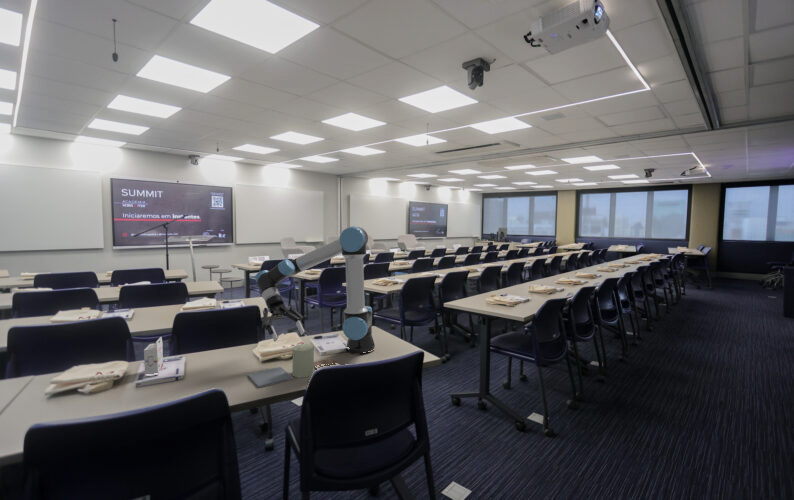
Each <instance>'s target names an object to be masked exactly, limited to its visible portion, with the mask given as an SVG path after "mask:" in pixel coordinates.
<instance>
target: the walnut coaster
mask: <svg viewBox="0 0 794 500" xmlns="http://www.w3.org/2000/svg"><path fill="white" fill-rule="evenodd" d="M337 362H338V361H336V360H334V359H333V358H331V357H329V358H326V359H322V360H321V359H320V360H316V361H314V367H315V366H316V367H317V365H319V366H320V367H323V366H321V364H325V365H324V366H330V365H336V364H335V363H337ZM332 363H333V364H332ZM326 364H327V365H326ZM328 364H329V365H328ZM320 367H318V368H320ZM316 370H317V368H316Z"/></svg>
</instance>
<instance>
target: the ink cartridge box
mask: <svg viewBox="0 0 794 500" xmlns="http://www.w3.org/2000/svg"><path fill="white" fill-rule="evenodd" d="M163 347H164V346H163V338H162V336H160V337H159V338H158V339H157V340H156V341H155V343H149V344H148V345H147V346H146V347H145V348H144V349H143V356H144V357H143V361H144V363H143V364H144V375H145V374H154V373H159V371H160V370H161V369H162V367H163V368H164V354H163V353H164V352H163V351H164V350H163ZM162 370H163V369H162ZM162 370H161V371H162ZM159 374H160V373H159Z"/></svg>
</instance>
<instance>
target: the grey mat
mask: <svg viewBox="0 0 794 500" xmlns="http://www.w3.org/2000/svg"><path fill="white" fill-rule="evenodd" d="M247 376H248V378H249V379H250V380H251V382H253V383H254V385H255V386H256V387H257V388H259V389H261V388H263V387H266V386H267V387H268V386H272V385H275V384H278V383H282V382H286V381H290V380H293V379H294V378H293V377H294V376H293V375H292V374H290V373H289V372H287V371H286V370H285V369H284V368H283V367H281V366H278V367H277V366H276V367H272V368H268V369H265V370H260V371H256V372H252V373H248V374H247Z"/></svg>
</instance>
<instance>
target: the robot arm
mask: <svg viewBox="0 0 794 500" xmlns="http://www.w3.org/2000/svg"><path fill="white" fill-rule="evenodd" d="M368 240H369V234H368V233H367V231H366V230H365V229H364V228H363V227H359V226H348V227H345V229H343V230H342V232H340V235H339V238H337V239H336V240H333V241H331V242H329V243H326V244H324V245H323V246H320V247H318V248H316V249H314V250H311V251H310V252H307V253H305V254H303V255H300V256H298V257H296V258H294V259H292V260H289V259H287V258H286V259H283V260H282V261H280V262H279V263H278V264H276V265H275V266H274V267H273V268H271V269H270V270H266V269H265V270H261V271H259V272H257V273H256V275H255V277H254V278H255V282H256V285H257V286H258V289H259V291H260V293H261V296H262V298H263V300H264V302H265V305H266V307H264V309H263V310H262V315H263V316H262V325H261V328H262V329H263V330H264V329H265V330H266V331H267V332H268V334H269V335H271V337H272V339H273V342H277V340H278V339H279V337H278V334H277V331H276V329H275V327H274V326H273V325H272V324H273V321H274V319H275V317H280V316H281V317H282V316H284V317H287V318H289V319H291V320H292V321H294V322H295V326H296V327H297V329H298V332H299V333H300V336H303V335H304V334H305V329H304V324H303V322H302V321H303V319H304V315H302V314H301V313H300V312H299V311H297V310H296V308H295V307H293V306H292V304H291V303H288V304H287V305H285V303H284V299H283V297H282V295H281V293H280V291H279V289H278V288H277V285H278V284H279V283H281V282H282V281H284V280H285V279H287V278H289V277H292V276H295V275H298V274H300V273H301V272H303V271H306V270H307V269H310V268H312V267H314V266H317V265H319V264H322V263H323V262H326V261H328V260H331V259H333V258H335V257H337V256H339V255H341V256H342V257H343V258H344V260H345V261H344V262H345V282H346V283H345V286H346V289H345V290H346V308H345V309H344V311H343V316H344V319H343V320H344V322H343V324H342V332H343V334H344V335H345V337H347V338H348V339H347V343H346V344H347V347H349V348H350V349H349V350H348V351H347V352H348V353H350V354H354V353H363V352H368V351H371V350H373V349H374V348H375V349H376V345H375V342H374V339H373V338H374V337H373V335H372V333H373V332H372V331H373V322H372V321H373V308H372V307H371V306H368V305H365V303H366V302H365V275H364V257H365V256H366V255H367V243H368V242H369V241H368ZM269 314H271V316H270V317H269V321H268V315H269ZM267 321H268V322H267Z"/></svg>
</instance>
